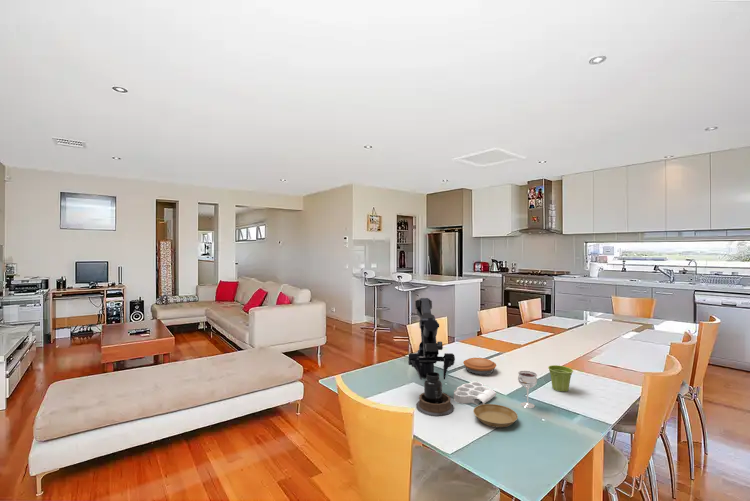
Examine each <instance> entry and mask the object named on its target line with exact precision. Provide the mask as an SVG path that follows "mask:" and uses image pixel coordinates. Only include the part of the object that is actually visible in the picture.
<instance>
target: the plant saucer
mask: <svg viewBox="0 0 750 501" xmlns="http://www.w3.org/2000/svg"><path fill="white" fill-rule="evenodd" d="M472 412H473V414H474V415H475V417H476V418H477V419H478V420H479V421H480V422H481V423H482V424H484V425H487V426H489V427H493V428H507V427H509V426H511V425H513V424H514V423H515V422H516V421H517V420H518V418H519V417H518V413H517V412H516V411H515V410H513V409H512V408H510V407H507V406H506V405H505V406H504V405H501V404H497V403H496V404H495V403H485V404H483V405H480V404H478V405H477V406H475V407H474V408H473V411H472Z"/></svg>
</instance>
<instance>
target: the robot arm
mask: <svg viewBox="0 0 750 501" xmlns="http://www.w3.org/2000/svg"><path fill="white" fill-rule="evenodd" d="M432 309H433V301H432V299H431V298H428V297H421V298H419V299H417V300H415V301H414V310H416V315H417V316H418V317H419V329H420V337H421V338H420V339H421V342H420V343H419V346H418V349H417V353H416V352H410V353H409V354H408V356H407V357H408V358H407V361H408V363H407V365H409V366H411V367H412V368H414V369H415V370H416V373H417V375H418V377H419V380H420V381H421V380H422V378H424V379H426V377H427V376H426V374H427V373H428V372H435V367H434V366H435V365H436V364H437V362H441V363H442V362H443V366H442V367H443V368H442V369H443V370H442V372H443V375H442V376H443V380H446V376H447V371H448V369H449V368H451V367H452V366H454V364H455V361H456V357H455V354H454V353H447V352H446V353H444V354H443V356H439V351H442V350H443V349H444V348H443V347H444V346H443V341H437V334H438V329H439V328H440V323H439V322H438V320H437V319H436V317H435V315H433V314H432Z"/></svg>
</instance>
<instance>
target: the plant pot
mask: <svg viewBox="0 0 750 501" xmlns="http://www.w3.org/2000/svg"><path fill="white" fill-rule="evenodd" d="M547 369H548V371H549V374H550V381H551V388H552V389H553V390H555V391H557V392H569V390H570V383H571V377H572V374H573V373H574V370H573V369H572V368H570V367H567V366H564V365H558V364H557V365H556V364H555V365H554V364H553V365H548V366H547Z"/></svg>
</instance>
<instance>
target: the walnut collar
mask: <svg viewBox="0 0 750 501" xmlns="http://www.w3.org/2000/svg"><path fill="white" fill-rule="evenodd" d="M418 399H419V400H418V401H417V402H416V404H415V406H416V410H417V411H418V412H420V413H422V414H424V415H426V416H431V417H432V416H433V417H443V416H448V415H450V414H452V413H453V412H454V410H455V409H454V404H453V403H452V402H451V396H449V394H447V393H444V392H442V400H443V403H440V404H434V403H428V402H425V401H424V392H423V393H421V394H419V398H418Z"/></svg>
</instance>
